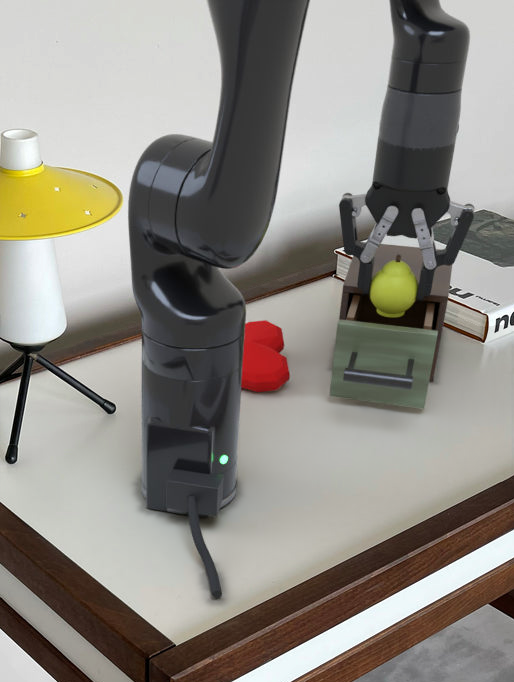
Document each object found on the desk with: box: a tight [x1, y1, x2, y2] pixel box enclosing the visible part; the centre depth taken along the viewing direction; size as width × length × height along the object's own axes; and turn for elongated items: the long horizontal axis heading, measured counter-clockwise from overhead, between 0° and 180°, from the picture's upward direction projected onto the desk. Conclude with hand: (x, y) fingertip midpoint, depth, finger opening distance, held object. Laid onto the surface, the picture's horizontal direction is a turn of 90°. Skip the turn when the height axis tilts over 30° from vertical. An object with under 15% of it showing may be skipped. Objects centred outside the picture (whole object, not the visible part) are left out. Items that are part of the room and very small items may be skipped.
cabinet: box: [338, 241, 453, 383], centre depth 122 cm, size 15×12×11 cm
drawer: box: [328, 293, 438, 410], centre depth 113 cm, size 19×10×9 cm, turn 163°
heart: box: [241, 319, 291, 393], centre depth 119 cm, size 12×4×10 cm
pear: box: [369, 254, 418, 317], centre depth 109 cm, size 5×5×6 cm
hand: (393, 295), depth 110 cm, fingers closed on pear, 5 cm apart
